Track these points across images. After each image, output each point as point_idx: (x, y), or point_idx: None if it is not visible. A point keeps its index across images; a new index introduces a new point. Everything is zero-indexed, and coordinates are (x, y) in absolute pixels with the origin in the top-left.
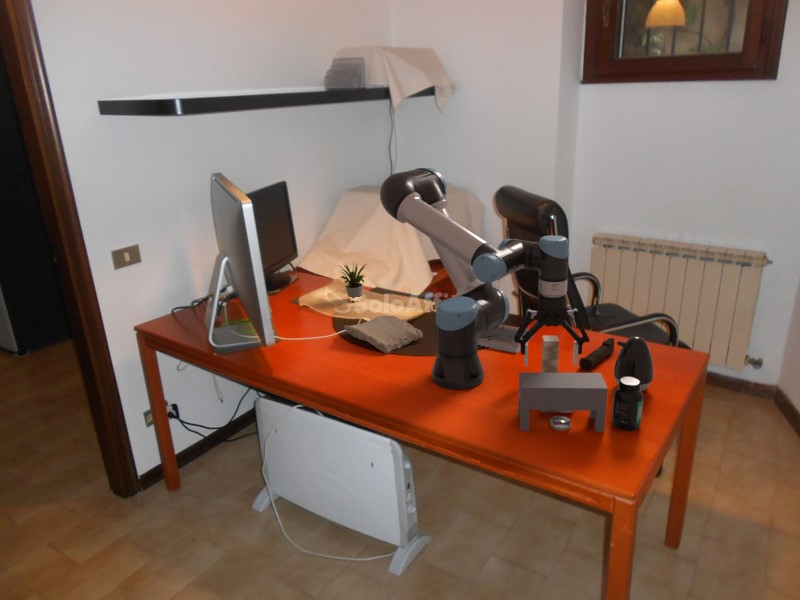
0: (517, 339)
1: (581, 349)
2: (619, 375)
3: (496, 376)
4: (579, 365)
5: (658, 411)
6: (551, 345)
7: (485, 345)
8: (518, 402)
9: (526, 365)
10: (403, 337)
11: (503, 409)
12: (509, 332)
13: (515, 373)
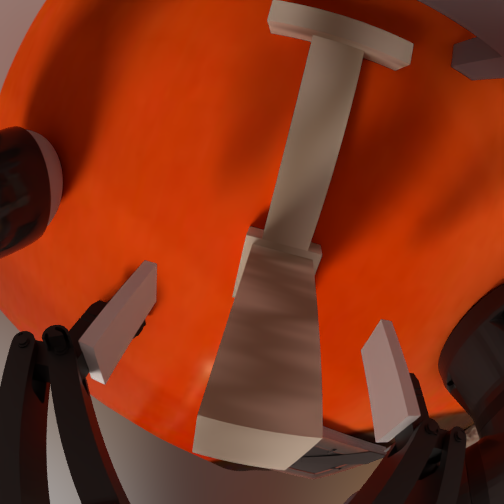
0: (458, 443)
1: (83, 319)
2: (30, 163)
3: (419, 332)
4: (145, 323)
5: (37, 46)
6: (266, 399)
7: (348, 438)
8: (500, 76)
9: (387, 323)
10: (467, 443)
11: (499, 129)
12: None
13: (359, 339)
